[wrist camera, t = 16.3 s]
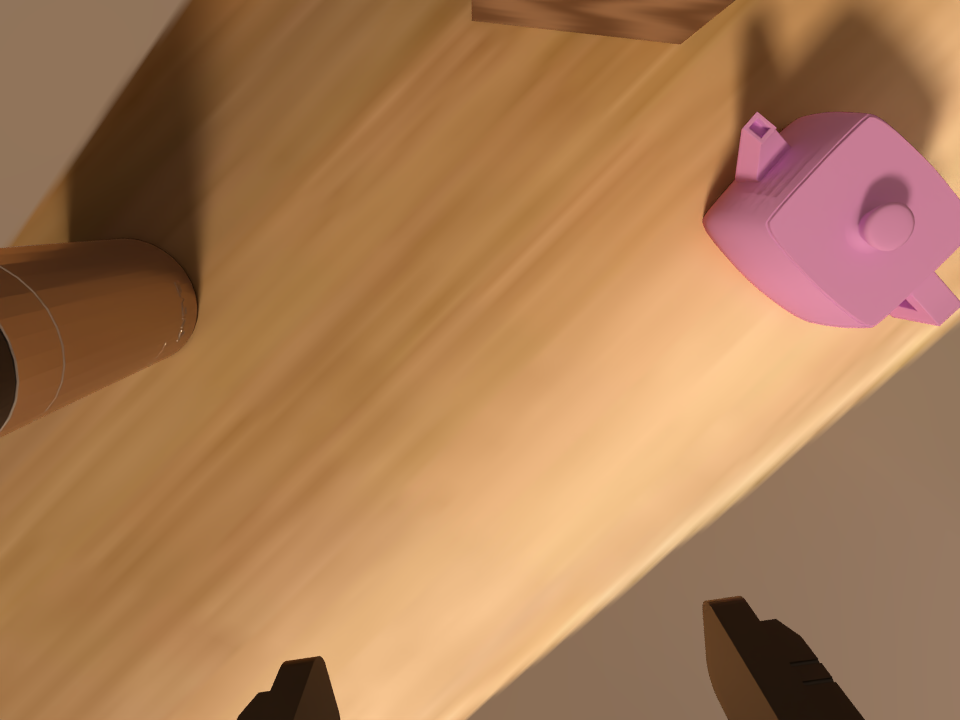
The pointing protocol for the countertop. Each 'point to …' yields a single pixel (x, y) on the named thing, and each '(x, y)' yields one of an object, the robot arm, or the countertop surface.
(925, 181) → the teapot
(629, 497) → the countertop surface
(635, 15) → the walnut stand
